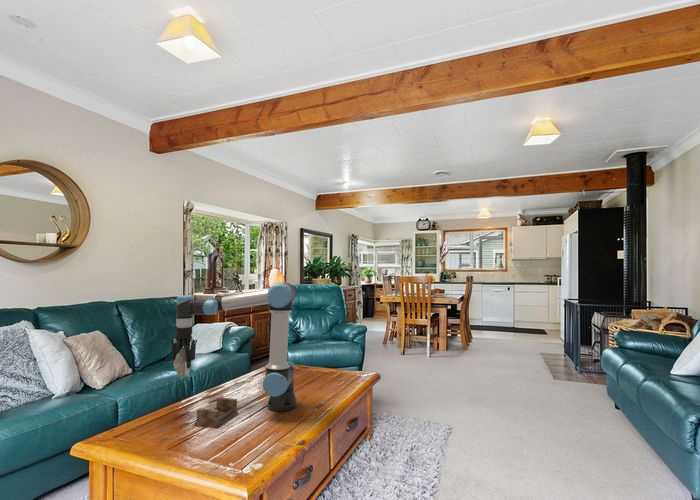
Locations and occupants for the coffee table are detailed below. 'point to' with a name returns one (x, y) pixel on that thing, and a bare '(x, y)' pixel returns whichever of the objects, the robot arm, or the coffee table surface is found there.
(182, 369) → the stone tool
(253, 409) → the coffee table surface
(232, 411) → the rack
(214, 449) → the coffee table surface
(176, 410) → the coffee table surface
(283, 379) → the robot arm
